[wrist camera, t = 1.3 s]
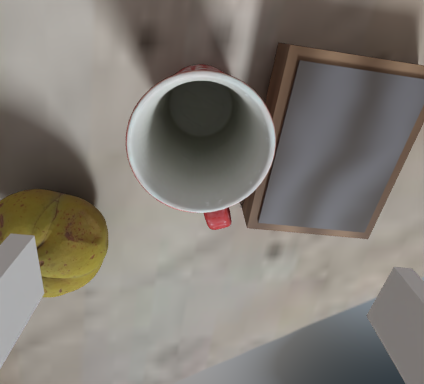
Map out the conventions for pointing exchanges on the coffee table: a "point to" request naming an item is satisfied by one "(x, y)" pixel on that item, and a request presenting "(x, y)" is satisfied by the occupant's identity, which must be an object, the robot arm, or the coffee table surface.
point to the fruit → (58, 236)
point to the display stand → (335, 140)
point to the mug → (201, 142)
